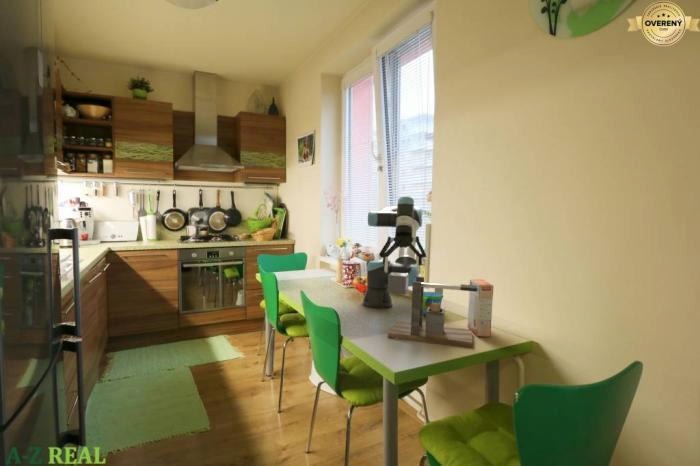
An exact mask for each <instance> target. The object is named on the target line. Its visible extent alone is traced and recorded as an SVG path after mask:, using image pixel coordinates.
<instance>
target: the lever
mask: <svg viewBox="0 0 700 466" xmlns="http://www.w3.org/2000/svg"><path fill="white" fill-rule="evenodd" d="M408 280H409V273H395V272H391V273H390V274H389V275H388V292H387V293H390V294H397V295H406V294H407V293H408V291H409V287H408ZM419 282H421V281H419ZM421 287H424V288H426V289H427V288H429V289H430V288H431V289H434V292H435V294H443V295H444V290H452V291H462V292H463V291H467V292H469V291H475V292H477V286H476V285H470V284H460V285H456V284H445V283H444V284H443V283H432V282H431V283H429V282H424V283H421Z"/></svg>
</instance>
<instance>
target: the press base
mask: <svg viewBox="0 0 700 466" xmlns="http://www.w3.org/2000/svg"><path fill="white" fill-rule="evenodd" d="M419 281H421V282H419ZM421 283H425V277H424V276H419V277H416V282H413V286H411V287H412V290H411V292H412V294H411V315H410V317H411V318H410V322H404V321H403V322H402V321H396V320H395V321H394V322H393V324H392V325H391V327H390V329H389V331H388V333H387V338H388V337H391V338H390V339H395V338H398V339H397V340H403V339H404V340H405V341H413V342H421V343H428V344H439V345H447V346H455V347H464V348H470V349H471V348H473V332H472V330H470V328H469V329H468V328H460V327H450V326H445V311H446V309H445V308H441V310H440V312H433V311H431V309H430V308H429V307H428V308H427V311H426V315H425V324H423V319H424V318H423V317H424V314H423V294H424V292H425V291H424V290H425V289H424V288H425V287H421Z"/></svg>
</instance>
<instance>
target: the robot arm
mask: <svg viewBox="0 0 700 466" xmlns="http://www.w3.org/2000/svg"><path fill="white" fill-rule="evenodd" d="M414 203H415V201H414V198H413V197H411V196H408V195H407V196H406V195H405V196H404V195H403V196H400V197H399V198H398V199H397V204H396V205H397V206H396V205H395V206H387V207H384V208H381V209H380V210H378V211H376V210H374V211H371V210H370V211H369V212H368V214H367V225H368V226H369V227H374V228H375V227H380V228H395V234H394V237H391V236H387V239H386V241H385V244H384V246H383V247H382V248H381V250H380V252H379V254H378V255H379V257H380V258H382V259H376V260H370V261H369V262H368V263H367V269H366V274H367V275H366V290H365V294H364V295H363V299H362V305H364V306H365V307H369V308H374V309H375V308H376V309H377V308H378V309H384V308H390V307H392V306H393V299H392V295H391V293H387V292H388V275H389V274H390V273H391V272H395V273H409V280H408V288H409V287H412V286H413V282H416V277H420V271H421V266H422V265H423V264H422V263H423V262H422V261H423V259H424V258H427V254H426V251H425V249H424V247H423V246H422V244H421V242H420V238H419V236H418V235H417V231H418V230H419V229H420V228H422V226H423V218H422V209H421V208H420V207H417V206H415V204H414ZM393 242H394V243H393ZM392 243H393V244H392ZM391 244H392V245H391ZM416 245H417V247H418V249H419V250H418V249H417V248H416ZM398 248H399V250H398V257H397V258H396V259H395V261H394V262H391V260H390V259H389V258H388V257H389V256H391V255H392V253H393V252H394V251H395V250H397V249H398Z"/></svg>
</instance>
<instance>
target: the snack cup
mask: <svg viewBox="0 0 700 466" xmlns="http://www.w3.org/2000/svg"><path fill="white" fill-rule="evenodd" d="M443 298H444V293H443V294H435V291H424V294H423V316H426V311H427V308H428V307H429V308H430V307H431V305H432V304H433V303H438V304H439V305H440V306H442V300H443Z"/></svg>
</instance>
